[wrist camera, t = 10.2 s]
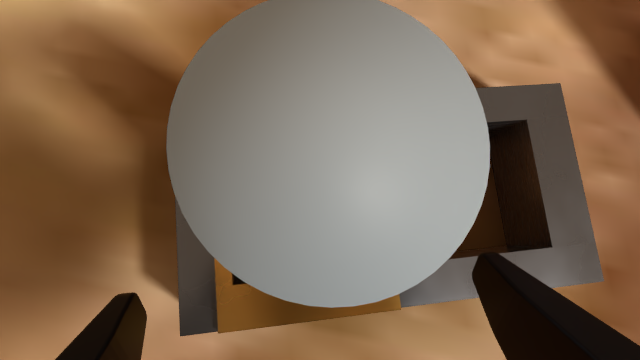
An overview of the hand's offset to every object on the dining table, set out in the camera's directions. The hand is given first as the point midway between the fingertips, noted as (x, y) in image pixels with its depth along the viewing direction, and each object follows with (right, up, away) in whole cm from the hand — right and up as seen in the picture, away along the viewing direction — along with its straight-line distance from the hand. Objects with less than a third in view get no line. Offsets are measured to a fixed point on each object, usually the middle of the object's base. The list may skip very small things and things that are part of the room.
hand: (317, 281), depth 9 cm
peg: (-1, +1, +7) cm, 8 cm away
